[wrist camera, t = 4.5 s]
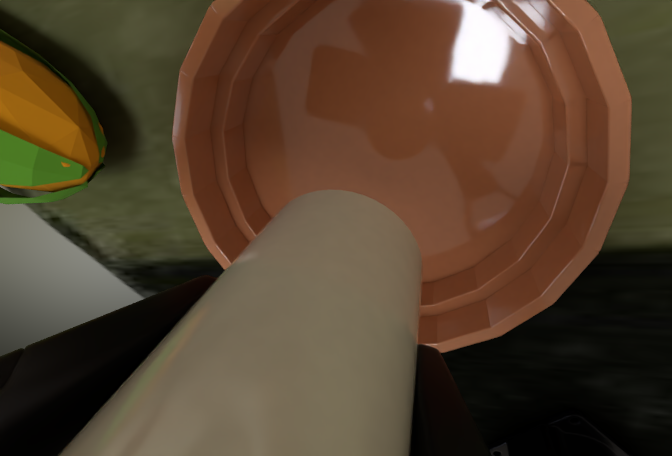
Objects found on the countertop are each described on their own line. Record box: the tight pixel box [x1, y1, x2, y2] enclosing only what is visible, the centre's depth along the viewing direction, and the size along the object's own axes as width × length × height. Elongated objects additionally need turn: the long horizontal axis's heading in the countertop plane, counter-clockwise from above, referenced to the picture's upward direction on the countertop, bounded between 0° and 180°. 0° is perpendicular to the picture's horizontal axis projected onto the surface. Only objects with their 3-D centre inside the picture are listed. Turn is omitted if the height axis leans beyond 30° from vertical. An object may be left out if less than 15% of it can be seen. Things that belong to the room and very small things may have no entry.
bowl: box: [172, 0, 632, 353], centre depth 16 cm, size 16×16×4 cm
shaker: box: [58, 190, 423, 456], centre depth 7 cm, size 4×4×8 cm
